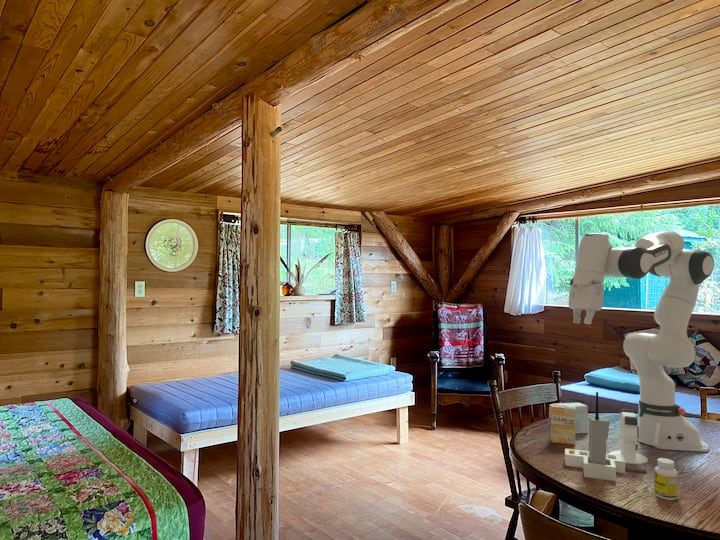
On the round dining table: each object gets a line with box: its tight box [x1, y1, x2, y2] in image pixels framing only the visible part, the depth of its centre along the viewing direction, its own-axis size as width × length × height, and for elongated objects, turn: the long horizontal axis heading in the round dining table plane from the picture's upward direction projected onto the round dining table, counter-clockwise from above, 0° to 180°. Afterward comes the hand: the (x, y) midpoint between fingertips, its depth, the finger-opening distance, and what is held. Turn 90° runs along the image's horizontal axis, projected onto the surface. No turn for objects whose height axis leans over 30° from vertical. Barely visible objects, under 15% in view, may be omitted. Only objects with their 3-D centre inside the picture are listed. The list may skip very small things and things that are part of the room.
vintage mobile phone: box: [588, 391, 610, 465], centre depth 155 cm, size 4×5×25 cm
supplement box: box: [550, 403, 576, 446], centre depth 184 cm, size 8×5×13 cm, turn 68°
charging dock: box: [564, 448, 647, 482], centre depth 157 cm, size 23×14×4 cm, turn 68°
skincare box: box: [554, 402, 589, 435], centre depth 197 cm, size 10×6×10 cm, turn 98°
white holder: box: [608, 408, 649, 465], centre depth 169 cm, size 12×11×15 cm
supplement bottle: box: [654, 457, 679, 501], centre depth 139 cm, size 5×5×10 cm
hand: (581, 323), depth 164 cm, fingers open, 8 cm apart
